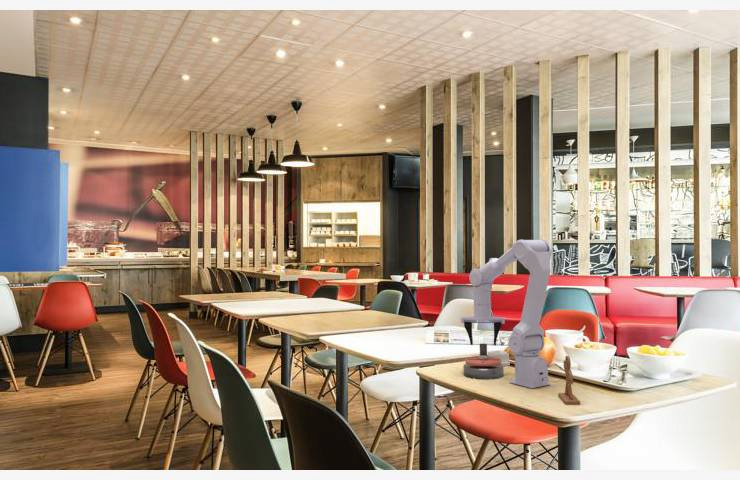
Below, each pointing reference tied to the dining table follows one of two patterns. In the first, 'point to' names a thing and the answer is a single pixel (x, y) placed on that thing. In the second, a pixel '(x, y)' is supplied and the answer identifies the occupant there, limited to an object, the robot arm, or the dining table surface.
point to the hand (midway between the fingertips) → (483, 344)
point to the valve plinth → (483, 371)
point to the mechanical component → (500, 356)
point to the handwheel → (483, 358)
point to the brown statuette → (568, 396)
